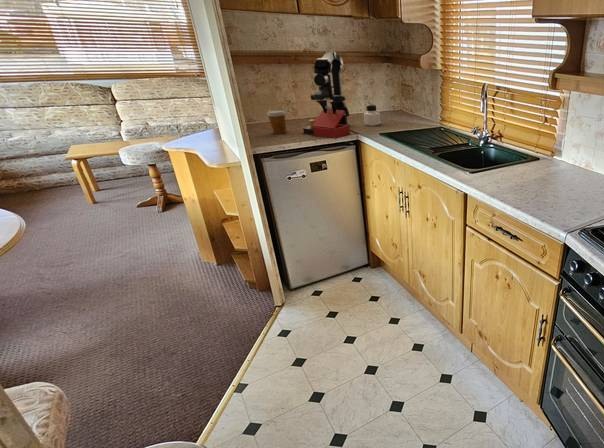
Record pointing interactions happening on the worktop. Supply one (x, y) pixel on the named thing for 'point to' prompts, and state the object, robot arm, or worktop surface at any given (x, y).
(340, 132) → the red cabinet box
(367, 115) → the medicine bottle
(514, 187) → the worktop surface
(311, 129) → the valve panel
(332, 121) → the cabinet lid
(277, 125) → the disposable coffee cup
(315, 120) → the valve knob
